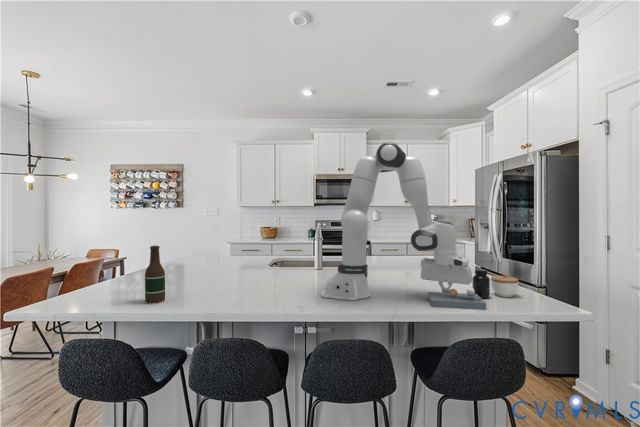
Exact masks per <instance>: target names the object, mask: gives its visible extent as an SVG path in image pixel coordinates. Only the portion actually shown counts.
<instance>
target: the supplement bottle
mask: <svg viewBox="0 0 640 427" xmlns="http://www.w3.org/2000/svg"><path fill="white" fill-rule="evenodd" d="M474 274H475V275H472V288H473V289H474V290H475V293H474V294H477V295H478V296H479V297H480V298H482V299H483V300H485V299H486V300H487V299H490V297H491V289H490V287H491V284H490V283H491V278H490V277H489V276H488V269H483V268H481V269H480V268H476V269H475V270H474Z"/></svg>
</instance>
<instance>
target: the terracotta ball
mask: <svg viewBox="0 0 640 427" xmlns="http://www.w3.org/2000/svg"><path fill="white" fill-rule="evenodd" d="M457 293H458V291H457V289H455V288H450V291H449V294H450V295H451V296H452V297H455V296H457Z"/></svg>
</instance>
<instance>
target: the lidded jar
mask: <svg viewBox="0 0 640 427" xmlns="http://www.w3.org/2000/svg"><path fill="white" fill-rule="evenodd" d="M519 282H520V281H519V279H518V278H517V277H513V276H508V275H506V274H504V273H503V274H502V275H493V276H491V277H490V283H491V284H490V285H491V288H492V290H493V292H494V293H495V294H496V296H498V297H503V298H512V297H513V296H514V295H515V294H516V293H517V292H518V289H519Z"/></svg>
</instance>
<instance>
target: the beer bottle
mask: <svg viewBox="0 0 640 427" xmlns="http://www.w3.org/2000/svg"><path fill="white" fill-rule="evenodd" d="M149 249H150V256H149V265H148V266H147V268H146V270H145V273H144V300H145V303H146V302H147V303H156V304H160V303H159V302H161V303H163V302H165V301H166V272H165V269H164V267H163V266H162V264H161V260H160V246H159V245H151V246H149ZM164 300H165V301H164ZM162 301H163V302H162ZM147 303H146V304H147Z"/></svg>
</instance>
